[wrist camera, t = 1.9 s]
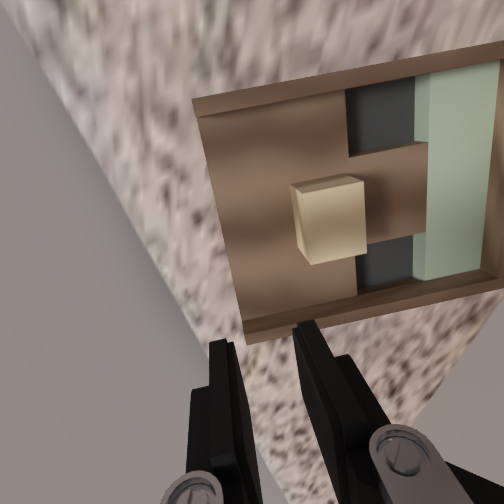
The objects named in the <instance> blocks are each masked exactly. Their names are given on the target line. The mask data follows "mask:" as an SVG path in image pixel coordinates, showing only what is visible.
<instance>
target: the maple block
mask: <svg viewBox="0 0 504 504" xmlns="http://www.w3.org/2000/svg"><path fill="white" fill-rule="evenodd" d="M290 191H291V198H292V206H293V213H294V221H295V228H296V236H297V243H298V248H299V249H300V251H301V252H302V254H303V255H304V256H305V258H306V259H307V261H308V262H309V264H310V265H314V264H319V263H323V262H328V261H333V260H337V259H342V258H347V257H351V256H356V255H361V254H365V253H367V243H366V221H365V200H364V181H362V180H359V179H356V178H354V177H351V176H349V175H346V174H344V173H342V174H337V175H332V176H327V177H322V178H317V179H312V180H307V181H302V182H297V183H292V184H290Z"/></svg>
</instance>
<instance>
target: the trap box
mask: <svg viewBox="0 0 504 504" xmlns="http://www.w3.org/2000/svg"><path fill="white" fill-rule="evenodd" d="M192 104H193V108H194V112H195V117H197V121H198V126H199V130H200V135H201V139H202V143H203V148H204V152H205V157H206V161H207V166H208V170H209V175H210V179H211V184H212V188H213V193H214V197H215V202H216V206H217V211H218V215H219V220H220V224H221V229H222V233H223V238H224V242H225V247H226V251H227V256H228V260H229V265H230V269H231V274H232V278H233V283H234V287H235V291H236V296H237V300H238V305H239V309H240V314H241V318H242V324H243V330H244V336H245V340H246V344H247V345H251V344H255V343H260V342H264V341H269V340H273V339H278V338H282V337H287V336H291V335H293V334H292V328H296V327H297V323H298V322H302V321H307V320H311V319H314V320H315V322H316V324H317V326H318V328H319V329H322V328H327V327H331V326H336V325H340V324H345V323H349V322H354V321H358V320H363V319H367V318H372V317H376V316H381V315H385V314H390V313H394V312H399V311H403V310H407V309H412V308H416V307H421V306H425V305H430V304H434V303H439V302H443V301H448V300H452V299H457V298H461V297H466V296H470V295H475V294H479V293H484V292H488V291H493V290H497V289H502V288H504V41H498V42H493V43H488V44H482V45H477V46H472V47H466V48H461V49H456V50H450V51H445V52H440V53H434V54H429V55H424V56H418V57H413V58H408V59H402V60H397V61H392V62H386V63H381V64H376V65H370V66H365V67H360V68H354V69H349V70H344V71H338V72H333V73H328V74H322V75H317V76H312V77H306V78H301V79H296V80H290V81H285V82H280V83H274V84H269V85H264V86H258V87H253V88H248V89H242V90H237V91H232V92H226V93H221V94H216V95H210V96H205V97H200V98H194V99H192ZM342 173H344V174H346V175H349V176H351V177H354V178H356V179H359V180H362V181H364V200H365V221H366V243H367V253H365V254H361V255H356V256H351V257H347V258H342V259H337V260H333V261H328V262H323V263H319V264H314V265H310V264H309V262H308V261H307V259H306V258H305V256H304V255H303V254H302V252H301V251H300V249H299V248H298V243H297V236H296V228H295V221H294V213H293V206H292V198H291V191H290V184H292V183H297V182H302V181H307V180H312V179H317V178H322V177H327V176H332V175H337V174H342Z"/></svg>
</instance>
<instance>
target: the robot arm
mask: <svg viewBox="0 0 504 504" xmlns="http://www.w3.org/2000/svg"><path fill="white" fill-rule="evenodd" d="M292 334H293V341H294V347H295V353H296V360H297V366H298V373H299V379H300V385H301V391H302V396H303V399H304V403H305V406H306V409H307V411H308V414H309V417H310V420H311V423H312V426H313V429H314V432H315V435H316V438H317V441H318V444H319V447H320V450H321V453H322V456H323V459H324V462H325V465H326V467H327V470H328V473H329V476H330V479H331V482H332V485H333V488H334V491H335V494H336V497H337V500H338V503H339V504H504V487H503V486H500V485H498V484H496V483H494V482H491V481H489V480H487V479H484V478H482V477H480V476H477V475H475V474H473V473H471V472H469V471H466V470H464V469H462V468H460V467H457V466H455V465H453V464H451V463H448V462H446V461H444V460H443V458H442V457H441V455H440V454H439V452H438V451H437V450H436V448H435V447H434V445H433V444H432V443H431V442H430V440H429V439H428V438H427V437H426V436H425V435H423V434H422V433H420V432H419V431H418V430H416V429H413V428H411V427H409V426H406V425H400V424H391V423H390V421H389V419H388V418H387V416H386V414H385V413H384V411H383V409H382V408H381V406H380V404H379V403H378V401H377V399H376V398H375V396H374V394H373V393H372V391H371V389H370V388H369V386H368V384H367V383H366V381H365V379H364V378H363V376H362V374H361V373H360V371H359V369H358V368H357V366H356V364H355V363H354V361H353V359H352V358H351V357H350V355H348V354H346V355H341V356H337V357H334V356H333V354H332V352H331V350H330V348H329V347H328V345H327V343H326V341H325V339H324V337H323V335H322V333H321V332H320V330H319V328H318V326H317V324H316V322H315V320H314V319H311V320H307V321H302V322H298V323H297V327H296V328H292ZM160 504H263V500H262V493H261V487H260V479H259V473H258V466H257V458H256V451H255V443H254V436H253V429H252V422H251V415H250V409H249V404H248V400H247V395H246V391H245V387H244V383H243V379H242V375H241V371H240V366H239V362H238V358H237V354H236V350H235V346H234V342H228V343H227V340H226V338H225V339H221V340H216V341H212V342H209V386H205V387H201V388H197V389H193V390H192V392H191V401H190V417H189V432H188V446H187V461H186V474H185V475H182V476H181V477H179V478H178V479H177V480H176V481H174V482H173V483H172V484H171V486H170V487H169V488H168V489H167V490H166V492H165V494H164V496H163V498H162V500H161V503H160Z"/></svg>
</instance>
